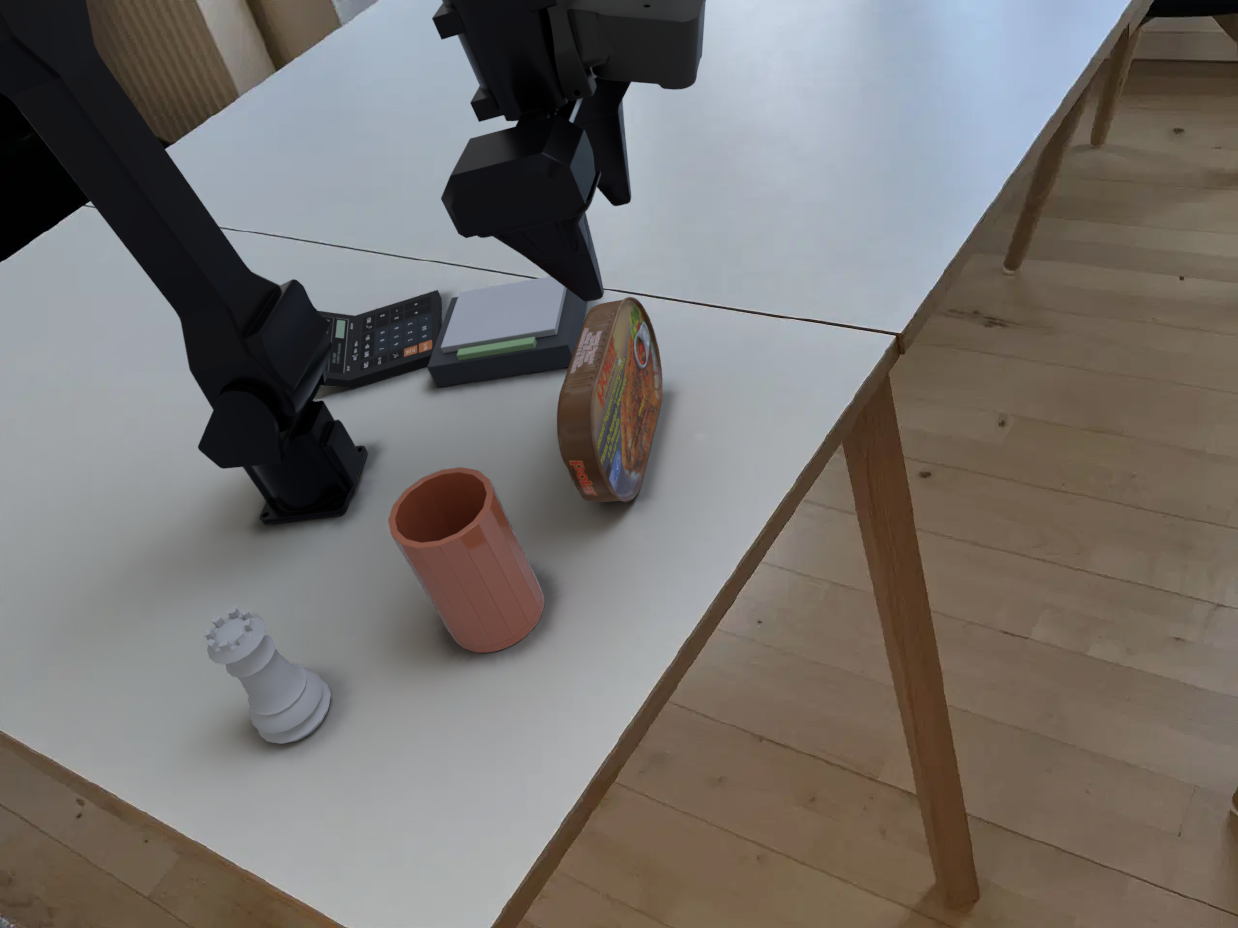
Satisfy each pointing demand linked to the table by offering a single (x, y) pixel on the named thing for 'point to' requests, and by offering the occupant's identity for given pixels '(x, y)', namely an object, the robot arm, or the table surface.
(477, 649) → the cup
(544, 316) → the scale
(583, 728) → the table surface
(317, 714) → the rook chess piece
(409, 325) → the calculator
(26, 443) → the table surface
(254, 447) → the robot arm
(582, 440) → the tin
